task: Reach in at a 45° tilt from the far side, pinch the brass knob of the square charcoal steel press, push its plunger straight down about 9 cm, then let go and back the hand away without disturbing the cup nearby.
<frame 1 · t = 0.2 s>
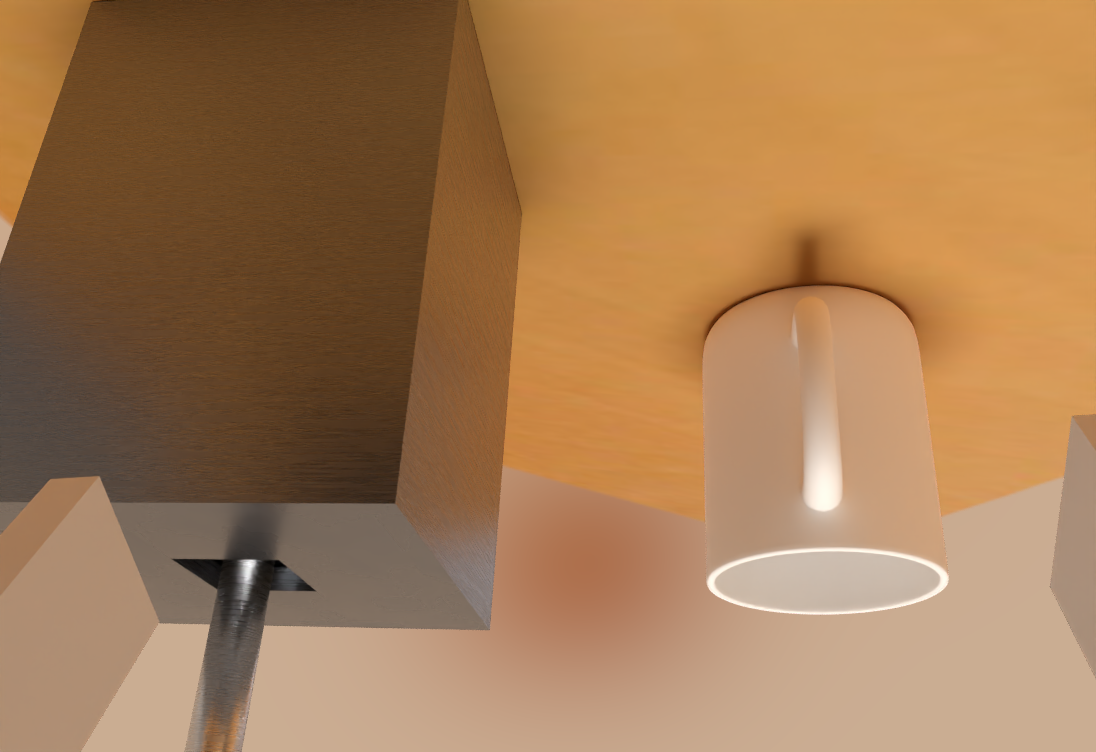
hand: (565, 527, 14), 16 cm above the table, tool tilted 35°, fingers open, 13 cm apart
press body: (332, 120, 31), on the table
cup: (806, 308, 39), on the table
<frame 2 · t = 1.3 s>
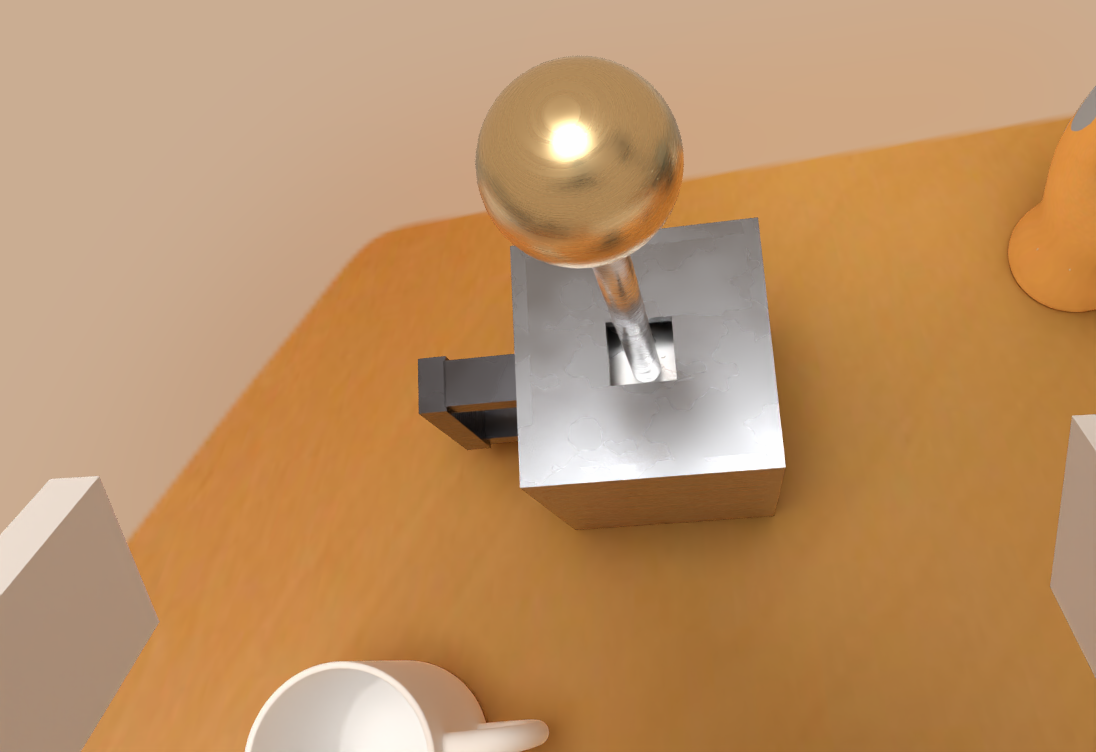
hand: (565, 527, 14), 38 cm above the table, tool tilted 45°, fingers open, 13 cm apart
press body: (665, 426, 53), on the table
beer glass: (1069, 257, 52), on the table
plunger: (618, 284, 33), point 22 cm above the table, slide at 0.0 cm
cup: (449, 740, 51), on the table
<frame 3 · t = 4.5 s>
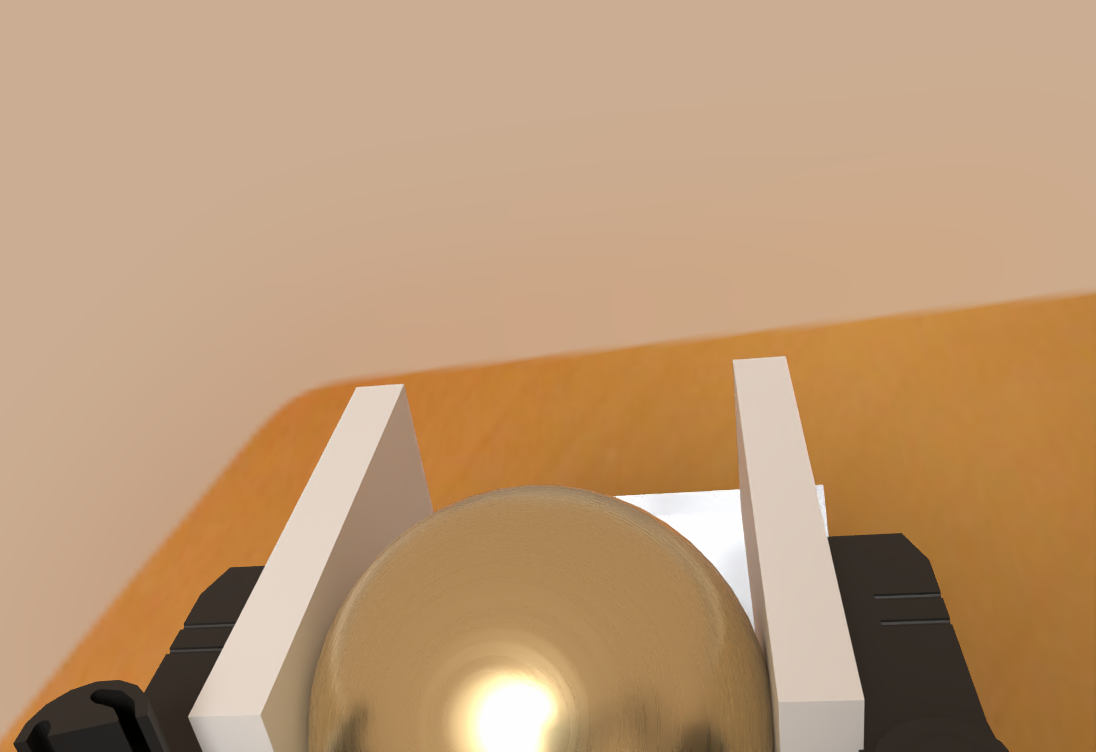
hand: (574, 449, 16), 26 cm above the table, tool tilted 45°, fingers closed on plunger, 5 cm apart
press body: (669, 681, 40), on the table
plunger: (615, 694, 19), point 22 cm above the table, slide at 0.0 cm, touching gripper
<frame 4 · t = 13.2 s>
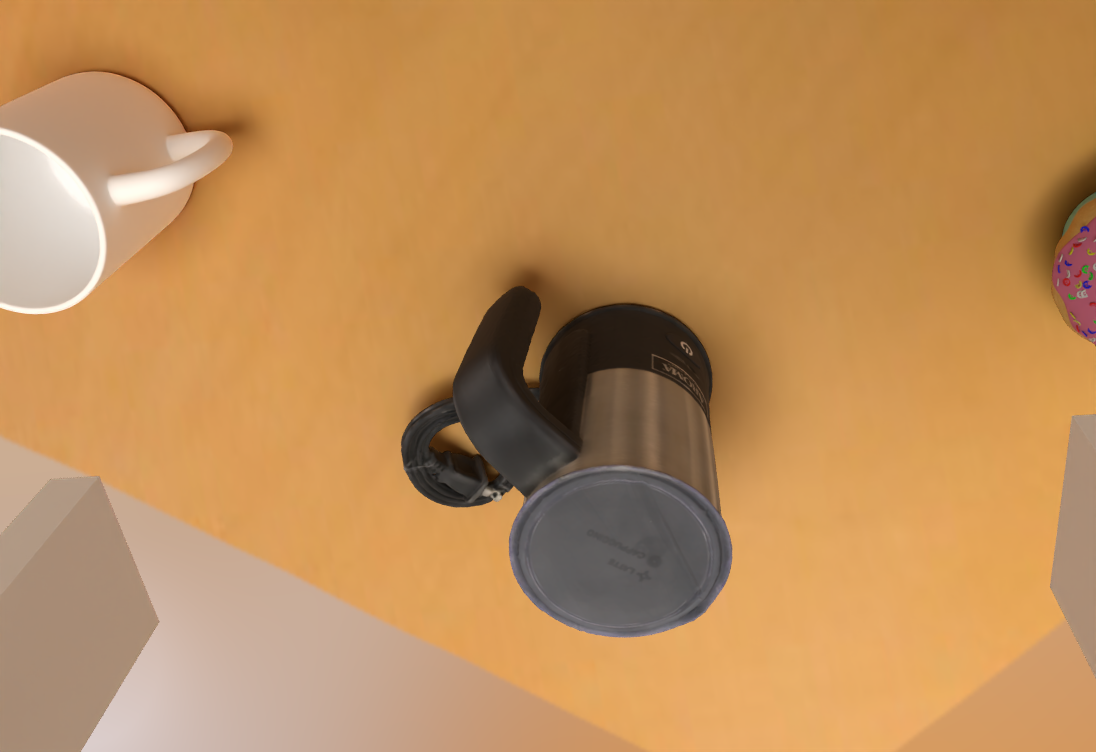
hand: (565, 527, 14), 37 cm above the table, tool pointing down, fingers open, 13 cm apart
milk frother: (559, 405, 56), on the table
cup: (153, 143, 51), on the table
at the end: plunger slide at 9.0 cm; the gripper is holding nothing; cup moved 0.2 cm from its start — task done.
